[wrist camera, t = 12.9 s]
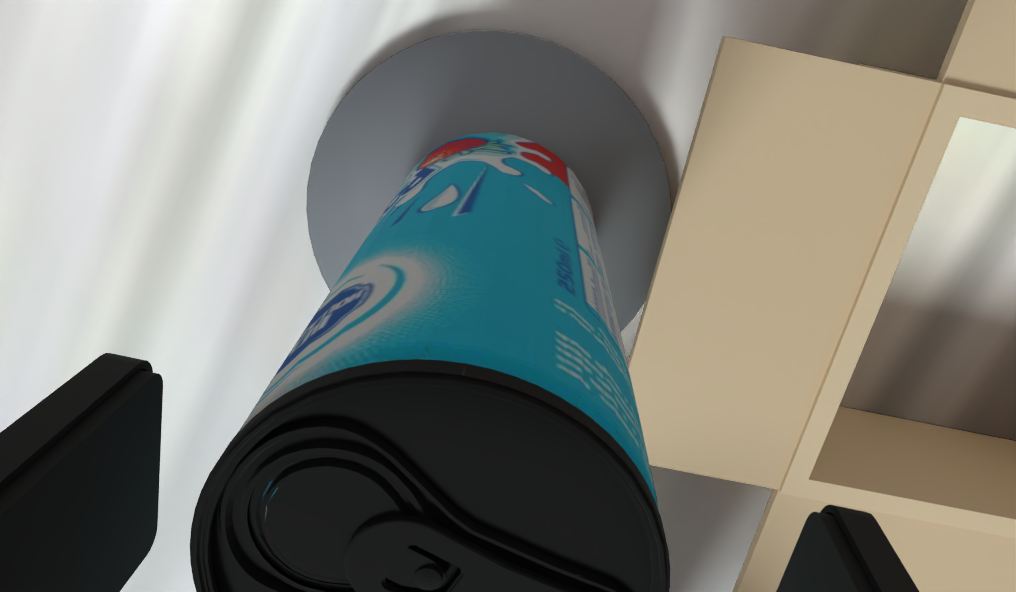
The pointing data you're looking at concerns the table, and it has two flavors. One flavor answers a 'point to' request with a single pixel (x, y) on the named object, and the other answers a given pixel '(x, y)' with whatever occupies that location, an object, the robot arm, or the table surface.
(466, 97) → the coaster
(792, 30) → the table surface
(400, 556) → the beverage can
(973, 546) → the carton
